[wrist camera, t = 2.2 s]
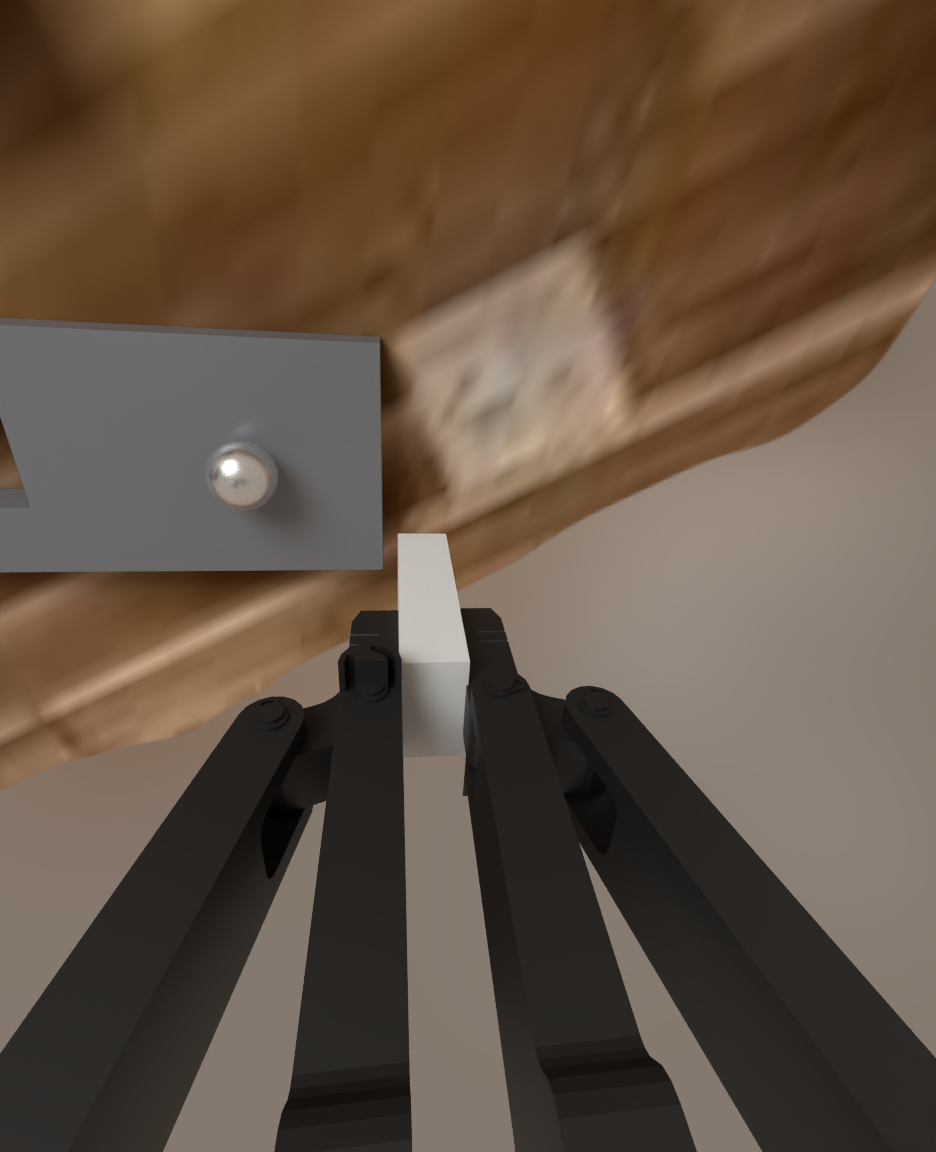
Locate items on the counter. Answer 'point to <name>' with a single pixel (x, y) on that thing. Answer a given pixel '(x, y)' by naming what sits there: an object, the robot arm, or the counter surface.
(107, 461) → the hole plate
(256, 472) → the steel ball
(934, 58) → the counter surface
